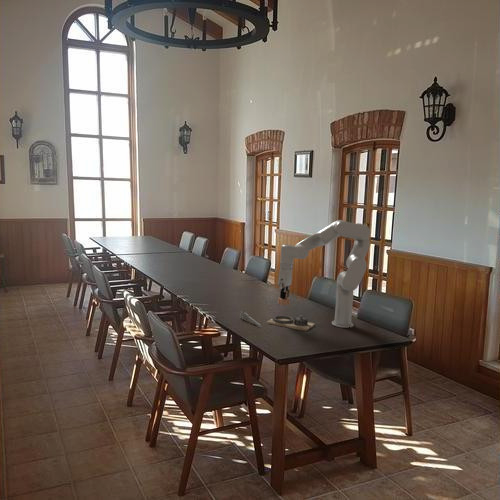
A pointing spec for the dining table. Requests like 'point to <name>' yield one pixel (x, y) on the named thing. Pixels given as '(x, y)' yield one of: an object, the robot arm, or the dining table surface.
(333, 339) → the dining table surface
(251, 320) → the caliper
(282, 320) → the carrier
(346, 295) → the robot arm
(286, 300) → the planet gear
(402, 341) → the dining table surface
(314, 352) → the dining table surface
